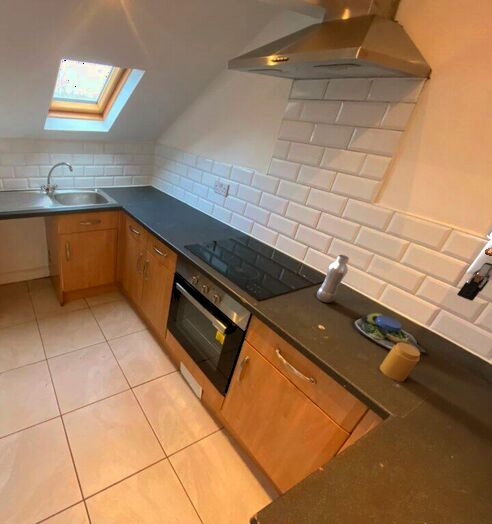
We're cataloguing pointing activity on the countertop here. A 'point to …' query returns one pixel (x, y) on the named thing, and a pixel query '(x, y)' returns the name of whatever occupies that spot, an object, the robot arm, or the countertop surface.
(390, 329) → the lid
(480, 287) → the robot arm
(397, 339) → the salad plate
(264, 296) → the countertop surface
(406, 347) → the jar
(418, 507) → the countertop surface
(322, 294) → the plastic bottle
